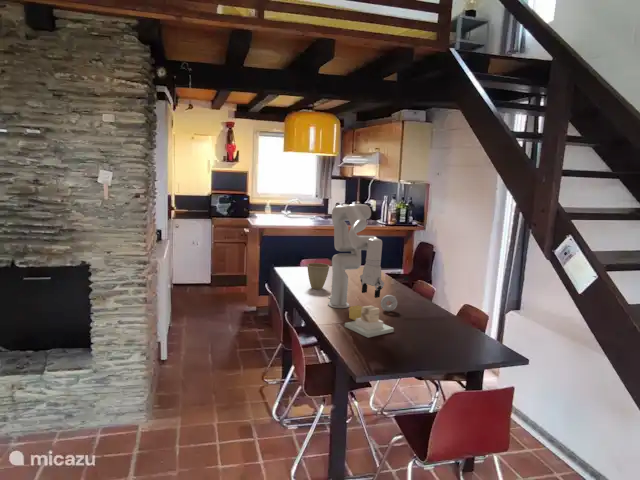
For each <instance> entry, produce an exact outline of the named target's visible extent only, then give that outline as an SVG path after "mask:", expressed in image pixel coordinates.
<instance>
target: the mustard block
mask: <svg viewBox="0 0 640 480" xmlns="http://www.w3.org/2000/svg"><path fill="white" fill-rule="evenodd" d="M362 307H363V306H362V305H359V304H357V305H352V306H349V311H348V313H349V314H348V315H349V316H348V318H349V319H351V320H352V321H356V318H361V311H362Z"/></svg>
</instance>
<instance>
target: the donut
mask: <svg viewBox="0 0 640 480" xmlns="http://www.w3.org/2000/svg"><path fill="white" fill-rule="evenodd" d="M388 302H390V303H391V304H390V305H388V304H387V303H388ZM380 307H381V308H382V310H383V311H385V312H392V311H394V310H395V309H396V308H397V307H398V300H397V298H396V296H394V295H392V294H386V295H385V296H383V297H382V299H381V301H380Z"/></svg>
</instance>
